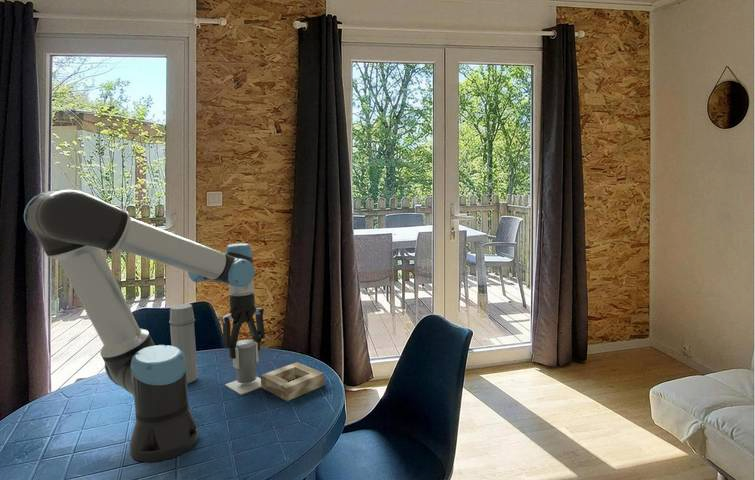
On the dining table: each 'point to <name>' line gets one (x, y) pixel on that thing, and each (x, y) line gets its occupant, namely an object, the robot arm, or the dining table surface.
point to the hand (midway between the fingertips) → (245, 364)
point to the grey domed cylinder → (246, 361)
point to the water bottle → (184, 336)
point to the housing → (302, 384)
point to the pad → (244, 386)
